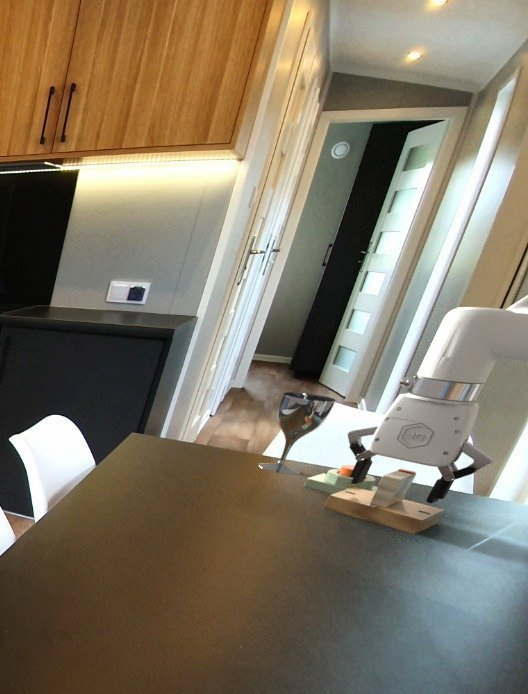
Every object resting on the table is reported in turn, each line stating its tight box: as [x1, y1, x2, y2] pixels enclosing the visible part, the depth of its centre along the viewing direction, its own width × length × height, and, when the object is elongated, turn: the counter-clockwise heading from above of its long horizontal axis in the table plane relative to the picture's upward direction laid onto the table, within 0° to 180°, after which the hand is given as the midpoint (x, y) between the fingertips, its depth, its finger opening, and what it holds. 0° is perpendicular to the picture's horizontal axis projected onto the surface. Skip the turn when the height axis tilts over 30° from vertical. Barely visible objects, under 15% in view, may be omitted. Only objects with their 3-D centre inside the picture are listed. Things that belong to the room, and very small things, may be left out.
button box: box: [303, 468, 378, 495], centre depth 118 cm, size 10×7×4 cm
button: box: [339, 464, 355, 478], centre depth 118 cm, size 4×4×2 cm
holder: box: [370, 468, 417, 507], centre depth 107 cm, size 7×2×5 cm, turn 120°
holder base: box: [323, 487, 445, 535], centre depth 108 cm, size 12×11×3 cm
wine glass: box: [257, 391, 337, 475], centre depth 128 cm, size 8×8×15 cm
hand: (392, 491), depth 107 cm, fingers open, 9 cm apart
